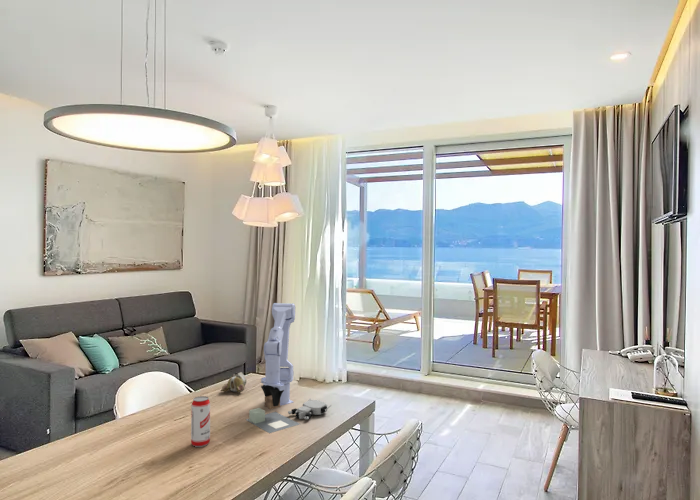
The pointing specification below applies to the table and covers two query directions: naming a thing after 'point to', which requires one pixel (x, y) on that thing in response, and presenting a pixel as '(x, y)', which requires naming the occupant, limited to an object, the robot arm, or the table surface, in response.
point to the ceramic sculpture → (235, 383)
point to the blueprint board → (275, 422)
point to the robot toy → (310, 409)
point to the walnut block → (270, 402)
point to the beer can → (200, 421)
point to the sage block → (257, 415)
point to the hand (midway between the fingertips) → (272, 404)
